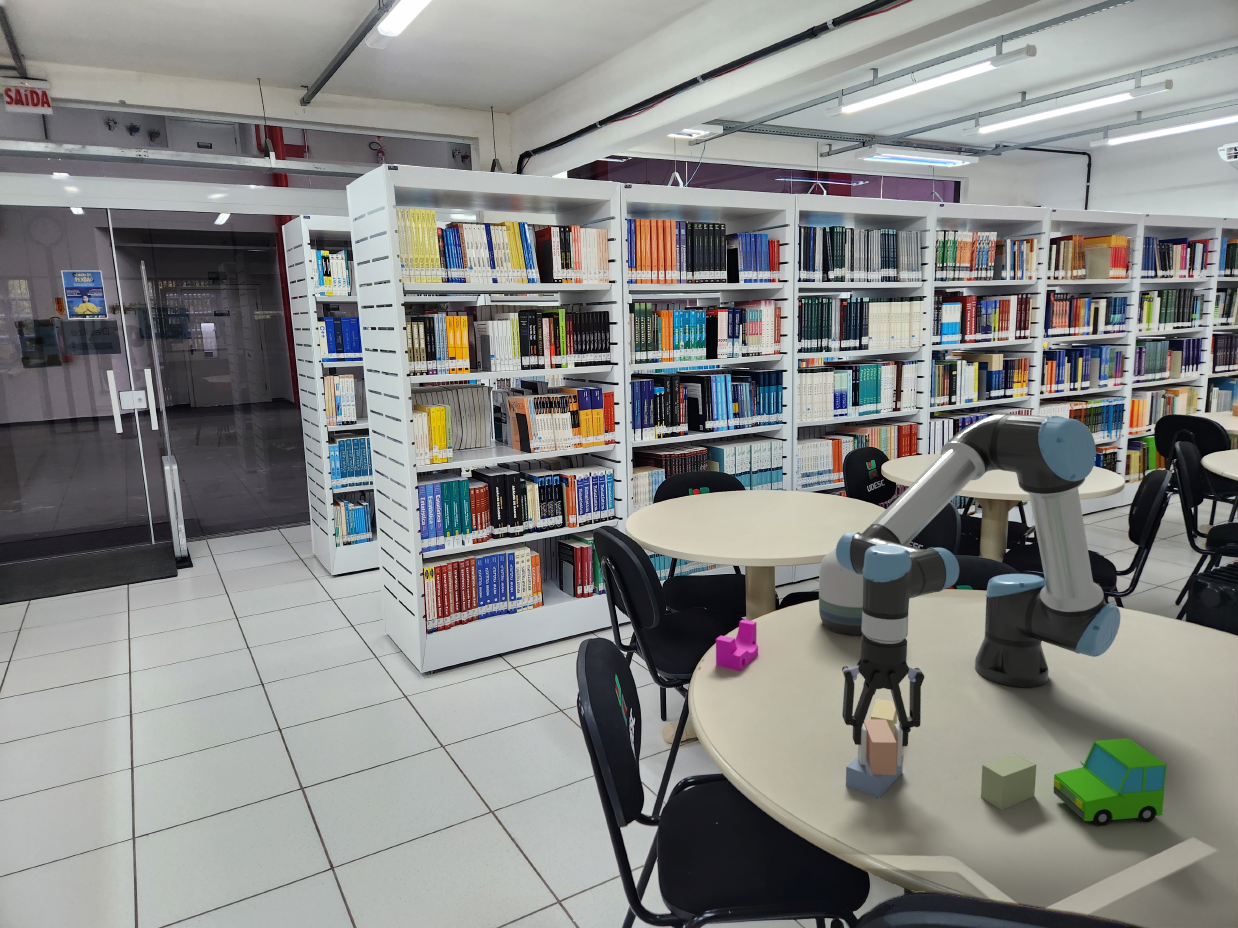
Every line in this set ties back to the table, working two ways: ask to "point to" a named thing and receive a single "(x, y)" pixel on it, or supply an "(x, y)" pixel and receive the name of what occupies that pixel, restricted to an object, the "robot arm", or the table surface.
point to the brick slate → (869, 778)
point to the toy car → (1114, 783)
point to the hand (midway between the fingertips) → (879, 760)
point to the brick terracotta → (880, 747)
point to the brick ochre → (885, 712)
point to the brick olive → (1008, 780)
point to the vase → (840, 597)
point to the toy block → (737, 647)
